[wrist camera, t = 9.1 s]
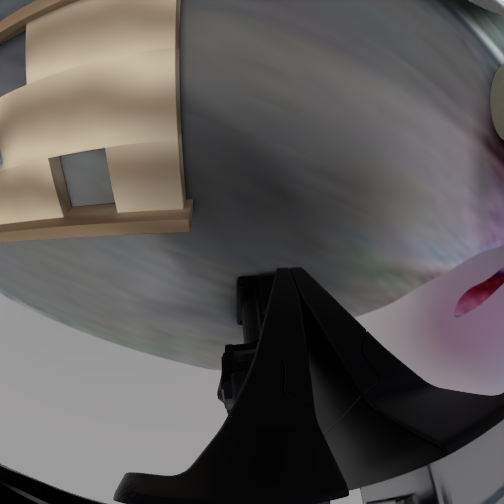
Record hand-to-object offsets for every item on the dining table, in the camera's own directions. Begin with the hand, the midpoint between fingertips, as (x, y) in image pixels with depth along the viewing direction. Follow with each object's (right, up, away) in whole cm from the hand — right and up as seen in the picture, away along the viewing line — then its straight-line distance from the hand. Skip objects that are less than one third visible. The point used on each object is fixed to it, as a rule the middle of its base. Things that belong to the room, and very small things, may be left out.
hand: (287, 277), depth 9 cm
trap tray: (-16, +11, +5) cm, 20 cm away
